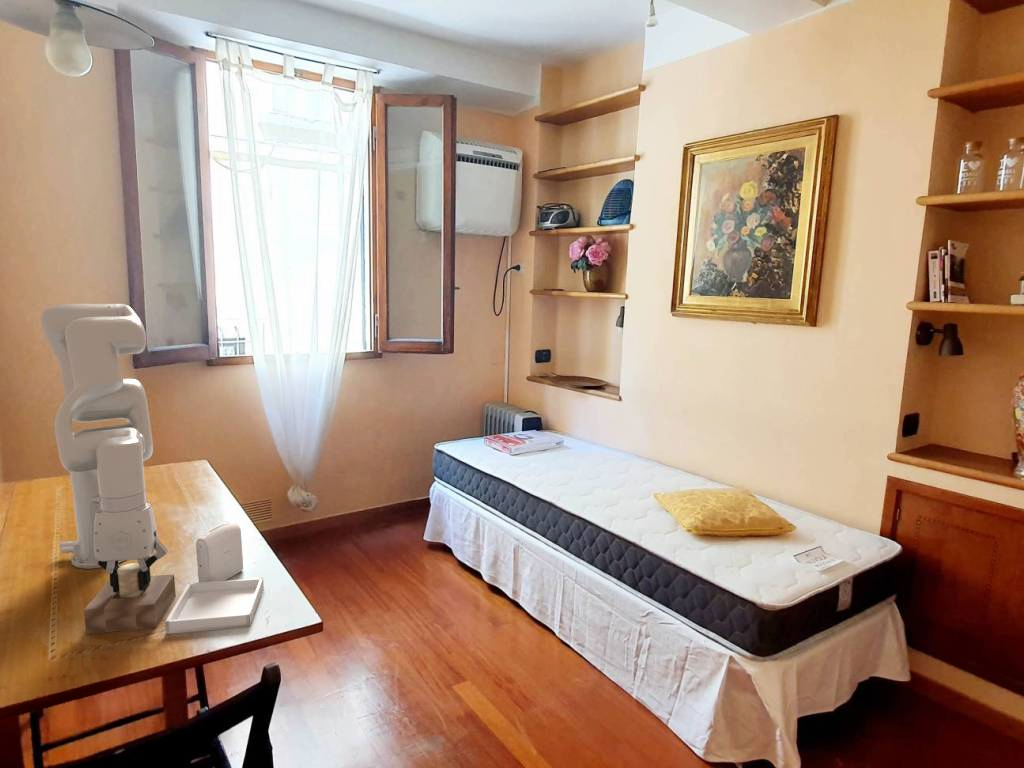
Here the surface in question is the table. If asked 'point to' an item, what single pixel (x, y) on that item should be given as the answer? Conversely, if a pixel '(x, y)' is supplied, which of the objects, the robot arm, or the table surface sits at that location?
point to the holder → (130, 607)
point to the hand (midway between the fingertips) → (131, 587)
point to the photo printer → (219, 553)
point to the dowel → (129, 580)
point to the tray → (215, 605)
